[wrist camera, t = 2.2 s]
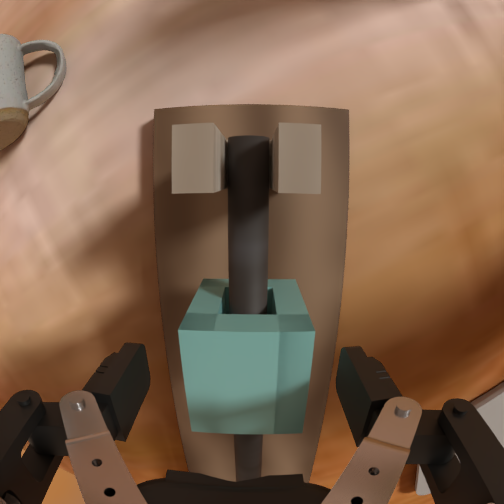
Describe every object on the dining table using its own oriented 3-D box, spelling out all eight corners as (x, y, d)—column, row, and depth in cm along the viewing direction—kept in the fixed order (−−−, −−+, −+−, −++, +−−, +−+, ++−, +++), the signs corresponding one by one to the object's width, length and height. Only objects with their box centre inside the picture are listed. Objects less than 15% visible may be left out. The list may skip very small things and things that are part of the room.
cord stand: (342, 114, 19) (429, 55, 7) (299, 502, 28) (307, 578, 17) (161, 113, 19) (69, 57, 7) (200, 501, 28) (189, 576, 17)
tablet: (542, 408, 27) (549, 415, 24) (410, 489, 29) (414, 500, 27) (564, 327, 23) (574, 334, 21) (414, 424, 25) (421, 438, 23)
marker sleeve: (295, 279, 16) (315, 331, 10) (290, 363, 17) (302, 433, 11) (203, 278, 16) (177, 329, 10) (208, 362, 17) (191, 431, 11)
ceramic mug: (-5, 165, 19) (-67, 168, 12) (-17, 94, 18) (-71, 84, 10) (81, 98, 18) (20, 73, 11) (63, 26, 17) (13, -9, 9)
